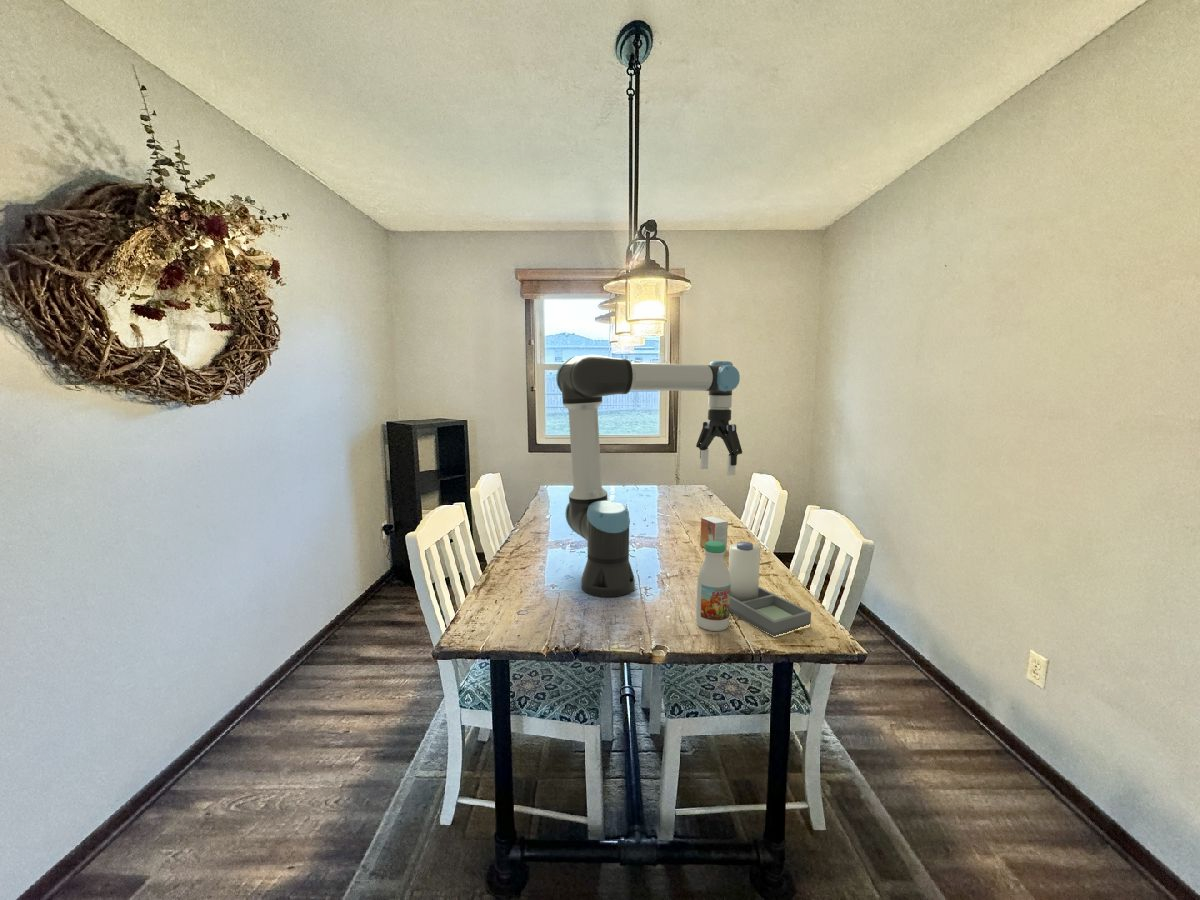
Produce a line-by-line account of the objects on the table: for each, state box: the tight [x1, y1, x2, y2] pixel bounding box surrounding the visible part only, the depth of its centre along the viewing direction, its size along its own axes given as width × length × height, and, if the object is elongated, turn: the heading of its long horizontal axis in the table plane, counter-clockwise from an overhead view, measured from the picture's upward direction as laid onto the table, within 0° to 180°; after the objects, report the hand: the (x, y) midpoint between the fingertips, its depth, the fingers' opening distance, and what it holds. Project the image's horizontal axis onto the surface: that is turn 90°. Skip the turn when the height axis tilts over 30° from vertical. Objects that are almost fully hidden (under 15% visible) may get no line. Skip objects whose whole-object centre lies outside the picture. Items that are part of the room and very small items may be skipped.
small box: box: [699, 515, 729, 552], centre depth 174 cm, size 8×6×10 cm
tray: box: [730, 586, 812, 636], centre depth 126 cm, size 12×22×4 cm, turn 27°
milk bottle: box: [695, 541, 731, 632], centre depth 119 cm, size 8×8×20 cm
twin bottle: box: [728, 541, 761, 602], centre depth 130 cm, size 8×8×15 cm
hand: (717, 471), depth 169 cm, fingers open, 13 cm apart
